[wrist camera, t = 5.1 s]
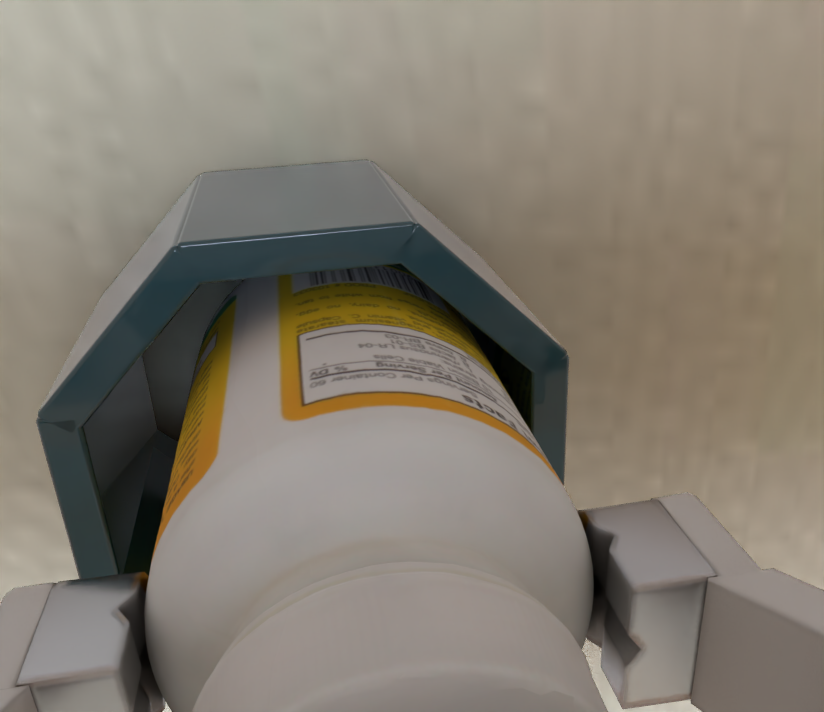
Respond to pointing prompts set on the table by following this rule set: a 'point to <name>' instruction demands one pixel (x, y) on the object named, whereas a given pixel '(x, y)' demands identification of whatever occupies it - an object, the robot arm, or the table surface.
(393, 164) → the table surface
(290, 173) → the holder
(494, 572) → the supplement bottle
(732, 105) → the table surface
